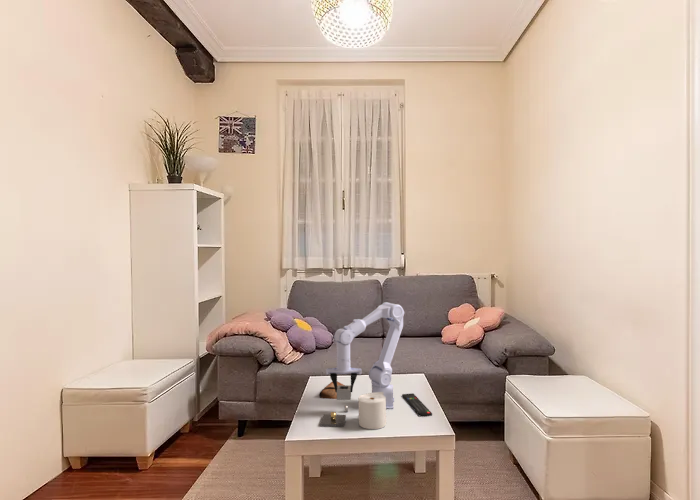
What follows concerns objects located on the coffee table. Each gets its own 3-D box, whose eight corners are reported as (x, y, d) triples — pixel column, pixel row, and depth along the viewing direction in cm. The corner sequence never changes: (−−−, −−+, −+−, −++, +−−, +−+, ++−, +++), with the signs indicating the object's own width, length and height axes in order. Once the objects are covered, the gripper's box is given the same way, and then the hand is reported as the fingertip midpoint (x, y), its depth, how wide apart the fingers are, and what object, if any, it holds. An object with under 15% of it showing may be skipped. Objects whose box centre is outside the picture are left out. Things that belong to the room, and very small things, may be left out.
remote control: (413, 396, 193) (413, 393, 193) (432, 417, 170) (432, 413, 170) (402, 397, 192) (402, 394, 192) (420, 418, 169) (420, 415, 169)
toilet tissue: (358, 429, 158) (358, 403, 158) (358, 416, 170) (358, 391, 170) (387, 429, 158) (386, 403, 158) (385, 416, 170) (385, 391, 170)
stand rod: (348, 411, 176) (347, 405, 176) (347, 412, 174) (347, 406, 174) (344, 411, 176) (344, 405, 176) (344, 412, 175) (344, 406, 175)
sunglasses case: (336, 399, 189) (329, 386, 190) (324, 406, 191) (317, 392, 192) (349, 386, 206) (342, 374, 207) (337, 392, 208) (330, 380, 209)
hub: (346, 417, 170) (345, 408, 170) (343, 426, 161) (343, 417, 161) (323, 416, 171) (323, 408, 170) (320, 426, 162) (320, 417, 162)
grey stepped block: (351, 395, 176) (351, 385, 176) (350, 399, 171) (350, 390, 171) (337, 394, 177) (337, 385, 177) (336, 399, 171) (336, 390, 171)
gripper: (361, 355, 177) (361, 388, 177) (326, 355, 178) (327, 388, 178) (361, 360, 170) (361, 394, 170) (325, 360, 171) (325, 393, 171)
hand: (344, 391), depth 174 cm, fingers closed on grey stepped block, 6 cm apart
